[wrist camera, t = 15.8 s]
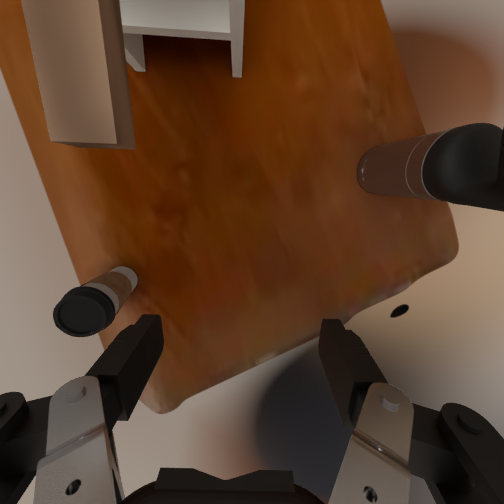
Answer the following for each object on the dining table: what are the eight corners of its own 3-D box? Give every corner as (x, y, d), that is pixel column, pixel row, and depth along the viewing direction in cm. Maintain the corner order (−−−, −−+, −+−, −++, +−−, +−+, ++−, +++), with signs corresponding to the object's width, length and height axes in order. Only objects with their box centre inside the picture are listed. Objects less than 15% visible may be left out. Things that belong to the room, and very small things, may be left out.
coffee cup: (95, 268, 49) (38, 304, 35) (132, 255, 49) (89, 286, 35) (115, 301, 52) (69, 347, 38) (150, 289, 52) (117, 330, 37)
